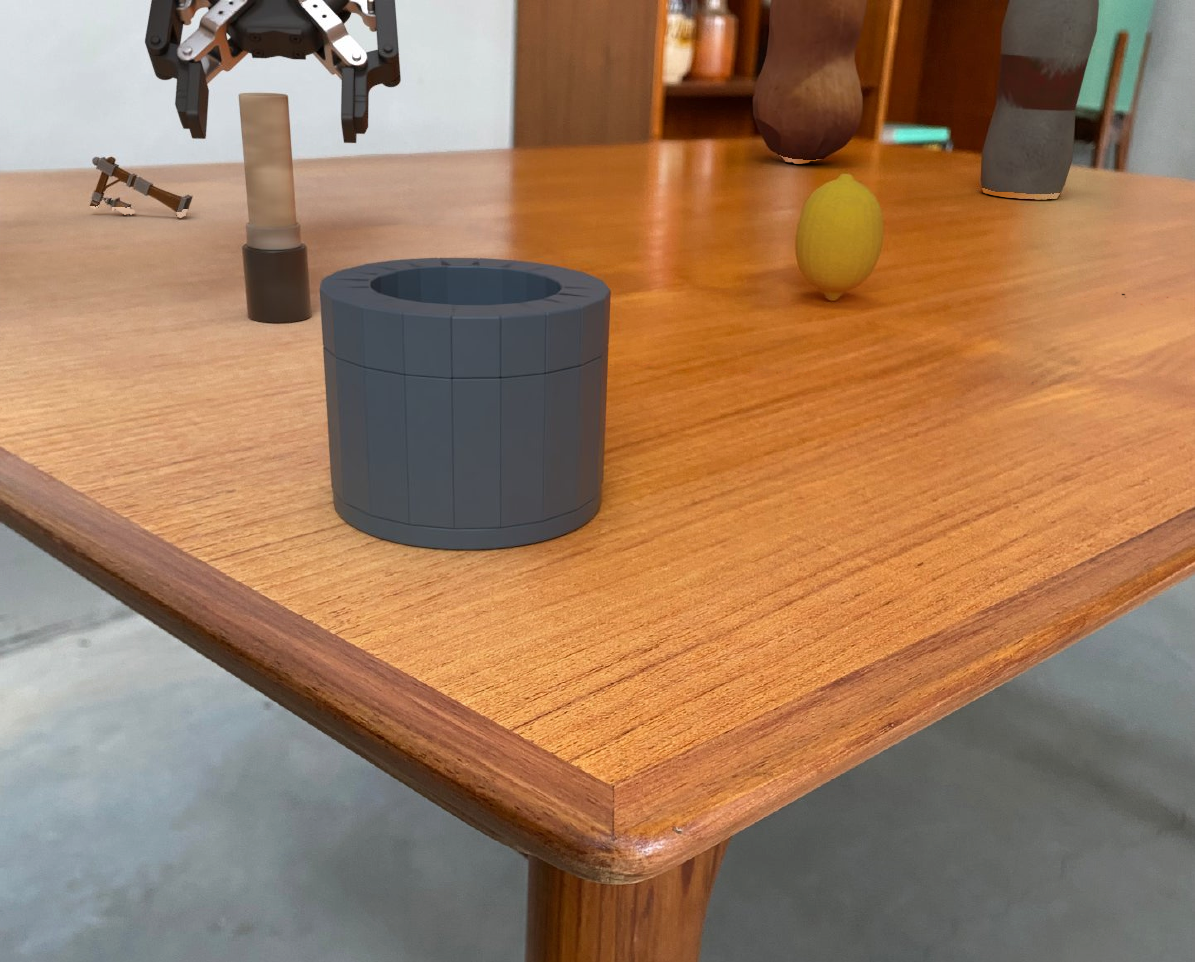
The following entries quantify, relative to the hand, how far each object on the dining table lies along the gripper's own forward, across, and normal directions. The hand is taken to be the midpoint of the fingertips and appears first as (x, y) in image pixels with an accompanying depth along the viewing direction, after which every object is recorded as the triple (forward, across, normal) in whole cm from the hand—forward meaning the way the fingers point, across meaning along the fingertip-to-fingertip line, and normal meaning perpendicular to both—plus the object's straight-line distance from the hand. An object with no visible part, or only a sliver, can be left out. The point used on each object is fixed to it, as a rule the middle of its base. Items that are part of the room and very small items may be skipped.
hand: (273, 131), depth 71 cm
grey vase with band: (-34, +72, +49) cm, 93 cm away
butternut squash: (-53, +54, +67) cm, 101 cm away
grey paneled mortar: (+30, +11, -16) cm, 36 cm away
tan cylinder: (+9, 0, +5) cm, 10 cm away
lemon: (+5, +35, +10) cm, 36 cm away
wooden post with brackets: (-16, -15, +30) cm, 37 cm away
